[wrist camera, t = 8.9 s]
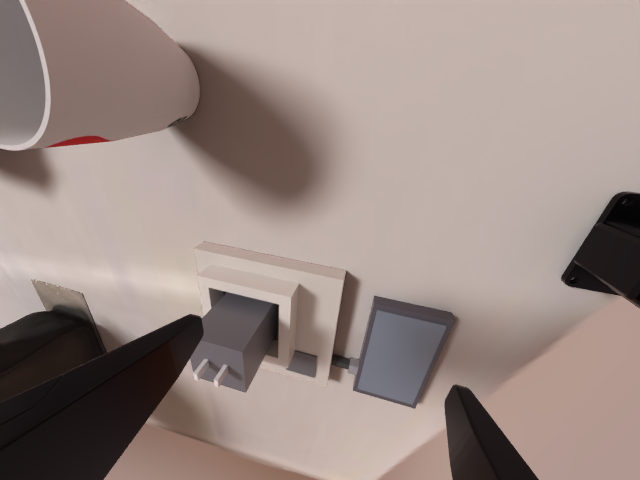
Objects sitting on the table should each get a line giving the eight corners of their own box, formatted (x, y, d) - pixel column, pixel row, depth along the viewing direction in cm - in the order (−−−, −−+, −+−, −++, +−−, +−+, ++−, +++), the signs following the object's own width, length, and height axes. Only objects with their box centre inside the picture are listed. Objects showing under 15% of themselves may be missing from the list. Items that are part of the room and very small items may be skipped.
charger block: (277, 297, 21) (232, 367, 15) (276, 333, 23) (237, 408, 17) (232, 287, 22) (171, 349, 16) (235, 322, 24) (183, 391, 18)
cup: (119, 111, 19) (-100, 93, 11) (125, -15, 16) (-211, -206, 7) (205, 160, 19) (57, 184, 11) (232, 46, 16) (35, -64, 7)
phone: (451, 312, 20) (454, 322, 19) (413, 398, 25) (415, 409, 24) (374, 295, 21) (373, 303, 20) (354, 381, 26) (352, 391, 25)
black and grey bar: (360, 360, 25) (359, 367, 24) (358, 367, 25) (357, 375, 24) (333, 352, 25) (332, 360, 24) (332, 360, 26) (330, 367, 25)
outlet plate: (346, 270, 21) (339, 295, 17) (329, 374, 27) (322, 406, 24) (203, 241, 23) (176, 258, 20) (218, 343, 29) (198, 368, 26)
